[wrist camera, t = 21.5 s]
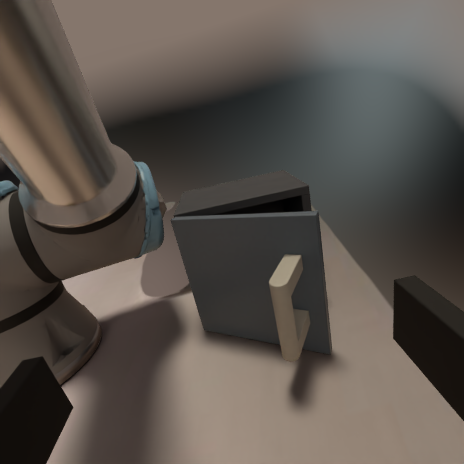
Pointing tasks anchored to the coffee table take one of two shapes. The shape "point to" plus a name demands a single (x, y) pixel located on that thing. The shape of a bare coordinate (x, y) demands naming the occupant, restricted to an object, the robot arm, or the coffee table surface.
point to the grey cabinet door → (259, 277)
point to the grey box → (248, 197)
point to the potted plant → (161, 204)
